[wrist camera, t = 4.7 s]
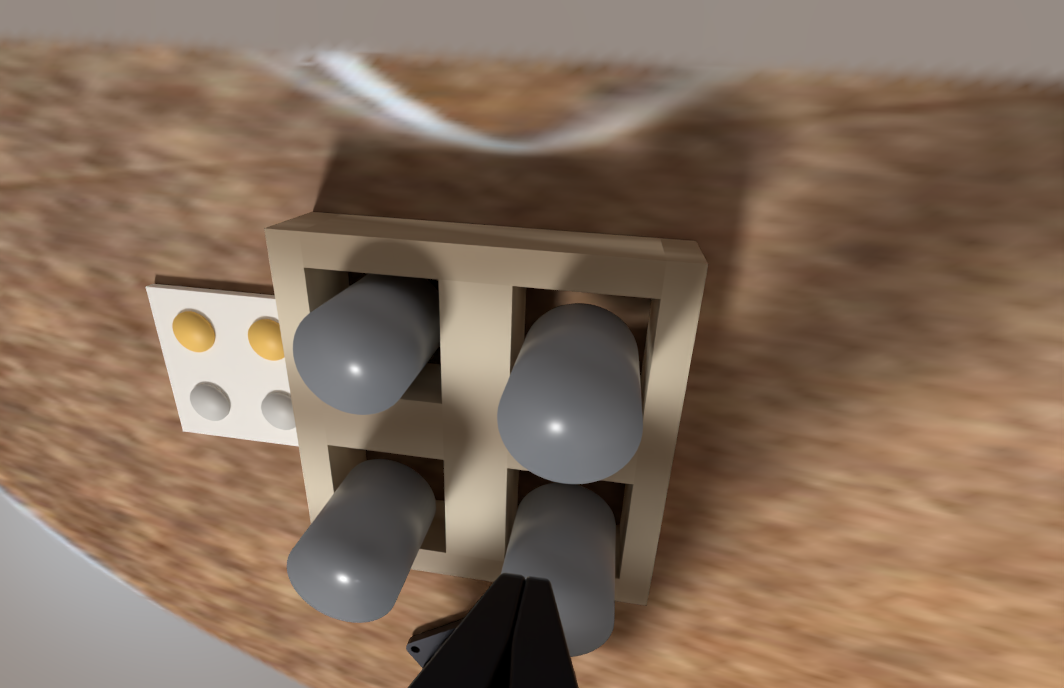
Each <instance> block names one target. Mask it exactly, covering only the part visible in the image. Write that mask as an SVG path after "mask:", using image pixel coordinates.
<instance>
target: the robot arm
mask: <svg viewBox="0 0 1064 688" xmlns="http://www.w3.org/2000/svg"><path fill="white" fill-rule="evenodd" d="M406 649H407V651H408V652H409V654H410V655H411V656H412V657H413V658H414V659H415V660H416V661H417V662H418V663H419V665H420V666H421V667H422V668H423V669H422V671H421V672H420V673H419V674H418V676H417V677H416V678H415V679H414V680H413V682H412V683H411V684H410V685H409V687H408V688H579V687H578V684H577V680H576V676H575V672H574V669H573V665H572V661H571V657H570V653H569V650H568V646H567V642H566V638H565V634H564V631H563V627H562V623H561V619H560V615H559V612H558V608H557V604H556V600H555V596H554V593H553V589H552V585H551V582H550V581H549V580H548V579H546V578H540V577H533V576H528V577H527V578H526V580H525V577H524V576H523V575H519V574H512V573H502V574H500V575H499V576H498V578H497V579H496V580H495V581H494V582H493V584H492V585H491V586H490V587H489V589H488V590H487V591H486V592H485V594H484V595H483V596H482V597H481V598H480V600H479V601H478V602H477V603H476V605H475V606H474V607H473V608H472V609H471V611H470V612H469V613H468V614H467V616H466V617H465V618H464V619H462V620H459V621H456V622H453V623H450V624H447V625H445V626H442V627H439V628H436V629H433V630H430V631H427V632H424V633H421V634H418V635H415V636H412V637H411V638H410V639H409V641H408V644H407V646H406Z"/></svg>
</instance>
